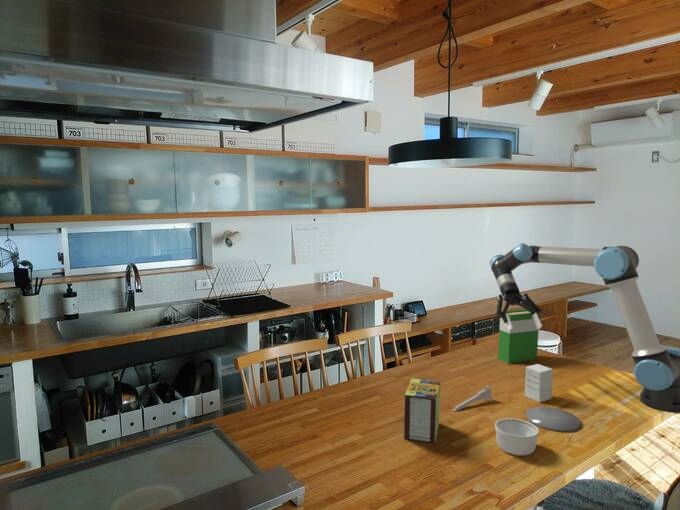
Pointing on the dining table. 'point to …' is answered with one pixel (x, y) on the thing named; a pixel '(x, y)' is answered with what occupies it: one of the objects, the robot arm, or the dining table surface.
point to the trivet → (553, 419)
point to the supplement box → (538, 382)
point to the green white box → (518, 338)
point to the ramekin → (516, 436)
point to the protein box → (422, 410)
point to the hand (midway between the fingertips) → (525, 328)
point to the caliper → (475, 398)
